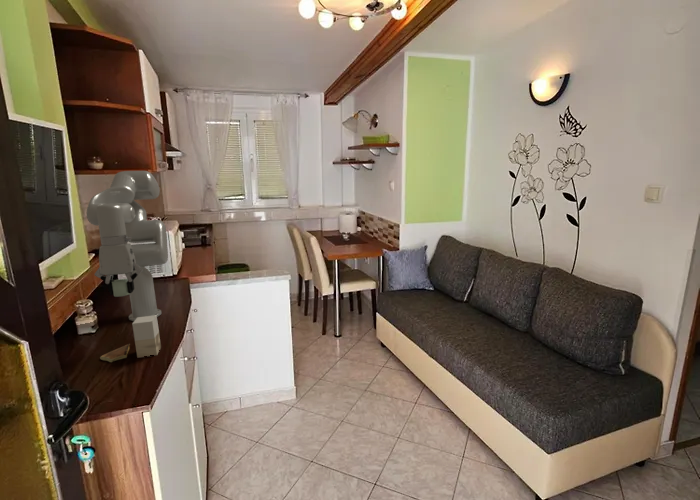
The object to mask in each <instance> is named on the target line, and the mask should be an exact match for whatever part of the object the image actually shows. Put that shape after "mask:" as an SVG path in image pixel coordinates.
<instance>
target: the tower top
mask: <svg viewBox="0 0 700 500" xmlns="http://www.w3.org/2000/svg"><path fill="white" fill-rule="evenodd" d="M158 323H159V322H158V317H157V315H154V316H145V317H137V319H136V320H135V321H132V331H133V338H134V342H135V341H138V340H146V339H154V338H155V337H156V335H157V334H158V332H159V333H160V330H159V324H158Z"/></svg>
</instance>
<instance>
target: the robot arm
mask: <svg viewBox="0 0 700 500" xmlns="http://www.w3.org/2000/svg"><path fill="white" fill-rule="evenodd" d="M159 185H160V184H159V182H158V181H157V180H156V178H155V176H154V175H153V174H152V172H150V171H147V170H124V171H123V170H121V171H118V172H117V173H115V174H114V176H113V179H112V182H111V185H110V187H109V188H106V189H105V190H102V191H101V192H99V193H98V192H97V194H94V195H93V196H92V197H91V198H90V200H89V202H88V203H87V204H88V205H87V208H86V218H87V220H88V222H89V223H90V224H91V225H92V226H98V230H99V231H98V232H99V237H100V243H101V245H100V246H99V250H98V251H99V252H98V262H99V263H98V264H99V267H98V268H97V270H96V271H95V273H94V276H95V277H97V278H98V279H100V280H101V281H103V282H104V283H105V284H106V285H107V290H108V293H109V296H114V294H113V288H112V281H113V280H114V279H113V278H114V275H115V276H116V275H125V277H126V279H128V282H127V288H128V293H130V294H129V300H130V305H131V306H130V307H131V312H132V313H130V314H129V315H128V320H129V321H131V322H134V321H135V320H136V319H137V317H145V316H154V315H157V318H158V317H159V316H160V315H162V309H159V308H158V306H157V300H156V299H157V297H156V292H155V285H154V284H155V283H154V278H153V275H152V272H151V271H149V269H147V268H146V267H151V266H162V265H164V264H166V263H167V262H168V261H169V249H168V236H167V235H168V234H167V228H166V225H165V222H164V221H162V220H159V219H147V216H148V215H147V210H146V209H145V208H144V207H143V205H141V204H140V203H138V202H137V200H138V201H141V200H154V199H157V198H158V197H159V196H160V193H161V191H160V186H159Z"/></svg>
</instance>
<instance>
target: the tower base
mask: <svg viewBox="0 0 700 500" xmlns="http://www.w3.org/2000/svg"><path fill="white" fill-rule="evenodd" d="M160 338H161V337H160V331H159V332H158V334H157V335H156V337H155V338H154V339H146V340H138V341H135V340H134V344H135V350H136V357H137V358H145V357H144V356H147V357H151V356H150V355H154V356H158V354H159V352H160V351H161V349H162V344H161V339H160ZM159 350H160V351H159Z"/></svg>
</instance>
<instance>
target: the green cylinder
mask: <svg viewBox="0 0 700 500" xmlns="http://www.w3.org/2000/svg"><path fill="white" fill-rule="evenodd" d="M127 282H128V279H127V278H119V279H113V280H112V288H113V297H115V298H118V297H125V296H128V295H129V294H130V293H128V288H127ZM129 296H130V295H129Z"/></svg>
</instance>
